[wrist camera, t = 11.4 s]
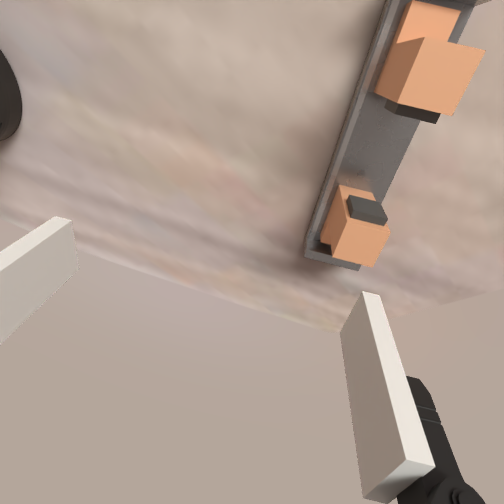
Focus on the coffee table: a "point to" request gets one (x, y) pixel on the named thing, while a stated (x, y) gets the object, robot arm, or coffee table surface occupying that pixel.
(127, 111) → the coffee table surface
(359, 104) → the rail
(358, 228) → the block
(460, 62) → the fixed finger
